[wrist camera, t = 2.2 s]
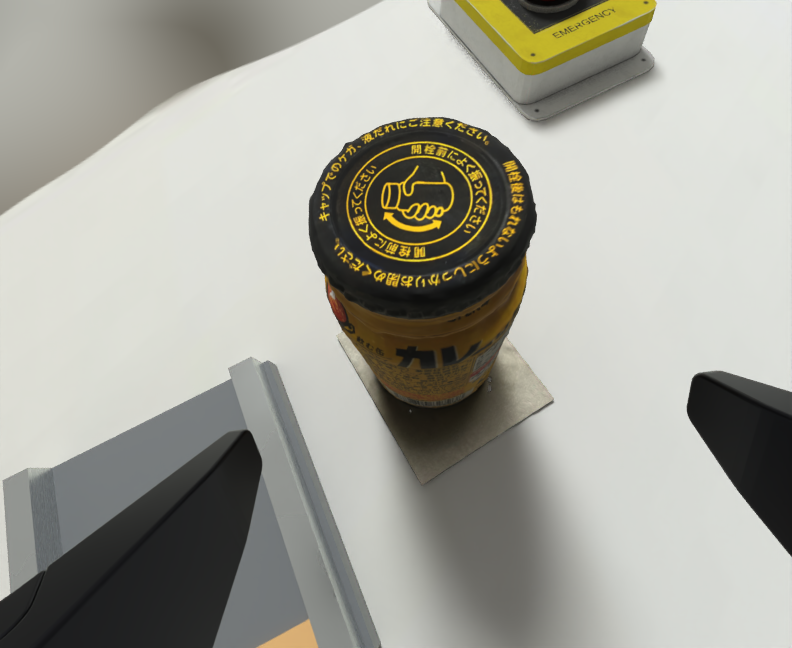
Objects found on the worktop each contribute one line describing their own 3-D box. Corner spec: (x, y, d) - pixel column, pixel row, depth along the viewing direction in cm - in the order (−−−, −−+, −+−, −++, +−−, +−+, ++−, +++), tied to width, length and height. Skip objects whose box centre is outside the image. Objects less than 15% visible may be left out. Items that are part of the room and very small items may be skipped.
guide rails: (369, 657, 15) (362, 673, 13) (62, 827, 14) (29, 859, 13) (262, 363, 19) (251, 356, 18) (29, 479, 19) (2, 480, 18)
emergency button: (547, 63, 20) (419, -68, 26) (530, 132, 24) (422, 6, 30) (699, -6, 21) (541, -120, 26) (656, 72, 25) (528, -41, 30)
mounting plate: (380, 642, 16) (375, 656, 14) (79, 809, 15) (49, 837, 14) (276, 365, 20) (266, 359, 19) (43, 481, 20) (19, 482, 18)
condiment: (452, 268, 21) (461, 44, 10) (553, 399, 18) (729, 291, 7) (337, 337, 20) (208, 181, 9) (422, 485, 17) (382, 517, 6)
